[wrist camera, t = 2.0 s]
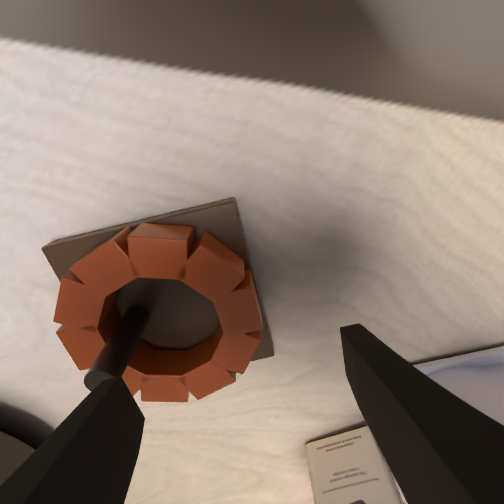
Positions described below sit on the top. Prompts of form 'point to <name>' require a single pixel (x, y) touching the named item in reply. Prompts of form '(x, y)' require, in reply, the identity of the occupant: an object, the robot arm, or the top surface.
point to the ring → (162, 267)
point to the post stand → (161, 292)
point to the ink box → (350, 470)
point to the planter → (12, 455)
